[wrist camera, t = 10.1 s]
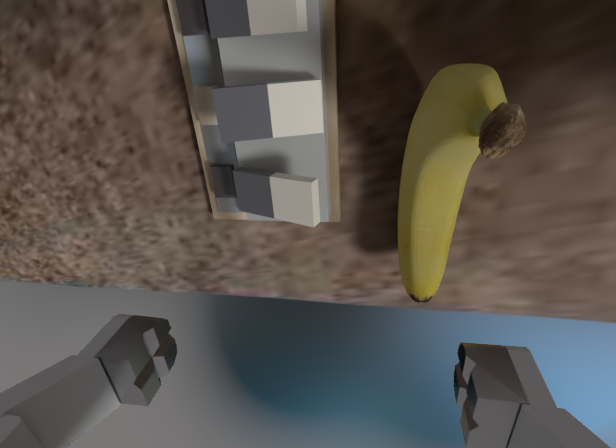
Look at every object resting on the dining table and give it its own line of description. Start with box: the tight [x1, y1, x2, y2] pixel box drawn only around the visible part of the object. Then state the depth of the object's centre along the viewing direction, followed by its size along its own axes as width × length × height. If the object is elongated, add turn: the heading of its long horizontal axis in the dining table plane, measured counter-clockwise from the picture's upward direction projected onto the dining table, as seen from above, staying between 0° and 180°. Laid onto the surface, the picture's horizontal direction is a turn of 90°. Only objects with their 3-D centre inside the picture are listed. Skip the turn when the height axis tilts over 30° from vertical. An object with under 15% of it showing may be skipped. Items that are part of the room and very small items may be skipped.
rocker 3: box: [233, 167, 320, 227], centre depth 35 cm, size 9×4×2 cm, turn 94°
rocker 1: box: [205, 0, 307, 39], centre depth 28 cm, size 9×4×2 cm, turn 94°
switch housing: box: [217, 0, 331, 222], centre depth 34 cm, size 9×24×2 cm, turn 4°
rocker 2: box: [211, 78, 324, 143], centre depth 31 cm, size 9×4×2 cm, turn 94°
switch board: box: [167, 0, 341, 222], centre depth 35 cm, size 15×26×2 cm, turn 4°
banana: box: [398, 63, 527, 302], centre depth 28 cm, size 23×6×20 cm, turn 1°
